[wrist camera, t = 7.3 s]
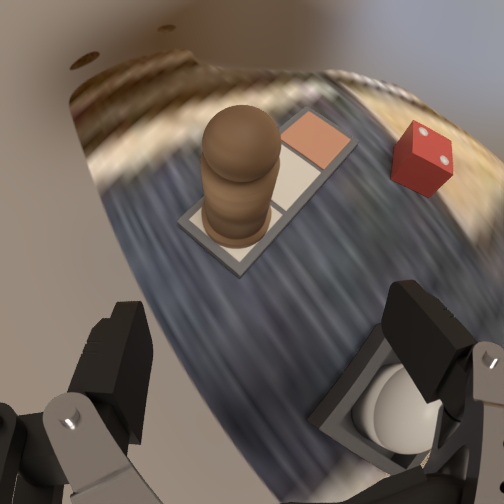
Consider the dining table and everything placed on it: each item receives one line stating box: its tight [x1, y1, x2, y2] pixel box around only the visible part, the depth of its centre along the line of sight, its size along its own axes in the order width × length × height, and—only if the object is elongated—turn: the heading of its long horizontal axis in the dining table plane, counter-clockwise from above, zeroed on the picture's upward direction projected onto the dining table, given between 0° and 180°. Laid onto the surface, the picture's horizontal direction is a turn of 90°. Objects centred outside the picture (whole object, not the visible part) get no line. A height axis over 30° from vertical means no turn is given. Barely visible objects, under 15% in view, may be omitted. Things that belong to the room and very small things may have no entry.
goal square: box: [281, 111, 351, 171], centre depth 29 cm, size 6×6×1 cm
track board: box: [177, 106, 359, 279], centre depth 28 cm, size 19×7×1 cm, turn 140°
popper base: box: [307, 323, 430, 476], centre depth 21 cm, size 10×10×4 cm
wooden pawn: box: [200, 105, 282, 249], centre depth 20 cm, size 6×6×12 cm
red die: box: [391, 120, 453, 198], centre depth 28 cm, size 5×5×5 cm
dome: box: [352, 363, 442, 454], centre depth 18 cm, size 7×7×8 cm
